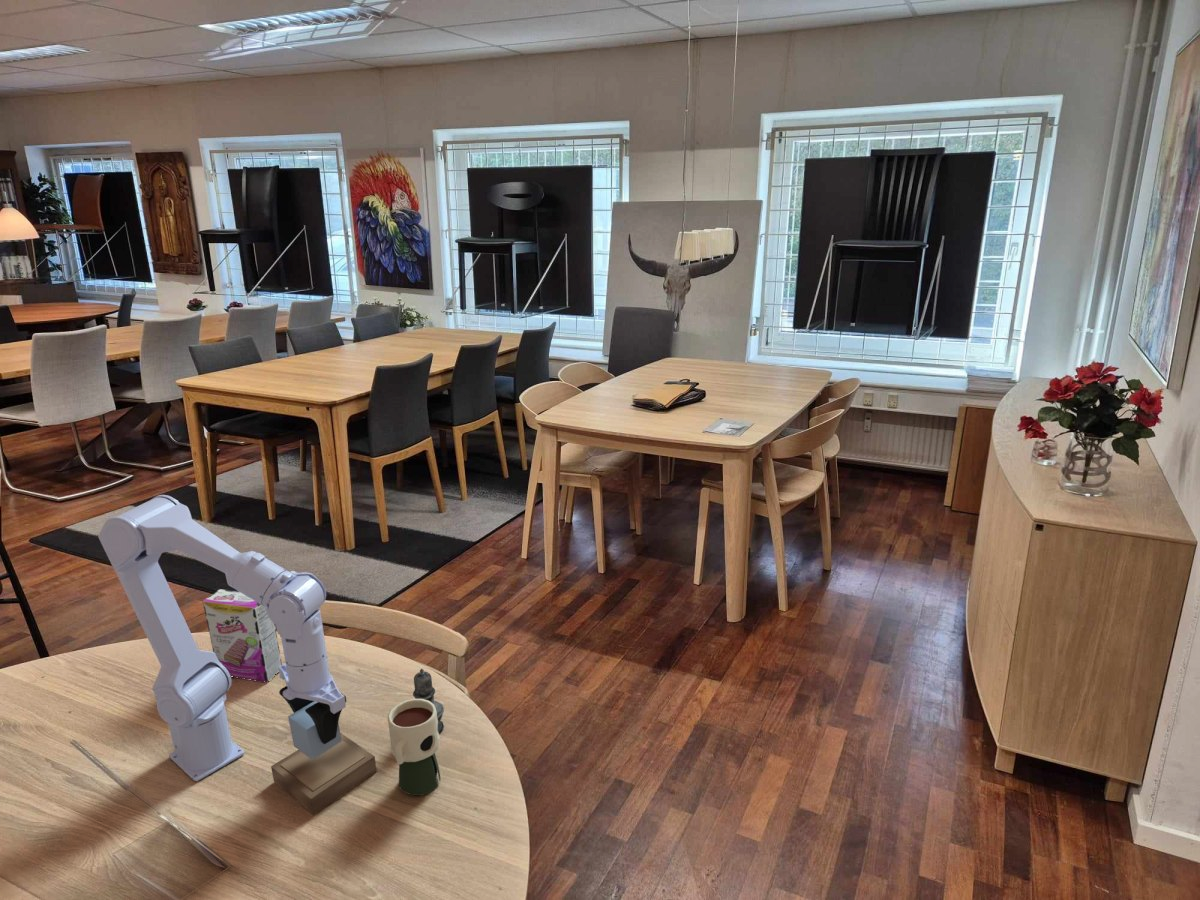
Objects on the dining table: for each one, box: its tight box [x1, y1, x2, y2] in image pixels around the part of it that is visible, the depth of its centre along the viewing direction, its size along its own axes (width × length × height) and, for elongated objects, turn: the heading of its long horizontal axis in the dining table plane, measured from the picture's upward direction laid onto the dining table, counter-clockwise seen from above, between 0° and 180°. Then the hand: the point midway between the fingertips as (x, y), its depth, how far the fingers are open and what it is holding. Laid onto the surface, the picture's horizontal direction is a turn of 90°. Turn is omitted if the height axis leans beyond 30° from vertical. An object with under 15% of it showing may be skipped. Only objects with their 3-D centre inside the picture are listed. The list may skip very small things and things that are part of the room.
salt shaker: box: [412, 668, 445, 735], centre depth 126 cm, size 6×6×12 cm
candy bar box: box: [202, 589, 283, 683], centre depth 141 cm, size 11×5×16 cm, turn 77°
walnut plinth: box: [270, 732, 378, 816], centre depth 117 cm, size 11×11×3 cm
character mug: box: [387, 698, 441, 796], centre depth 114 cm, size 11×7×13 cm, turn 168°
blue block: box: [287, 701, 342, 760], centre depth 114 cm, size 5×5×6 cm
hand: (318, 732), depth 115 cm, fingers closed on blue block, 5 cm apart
